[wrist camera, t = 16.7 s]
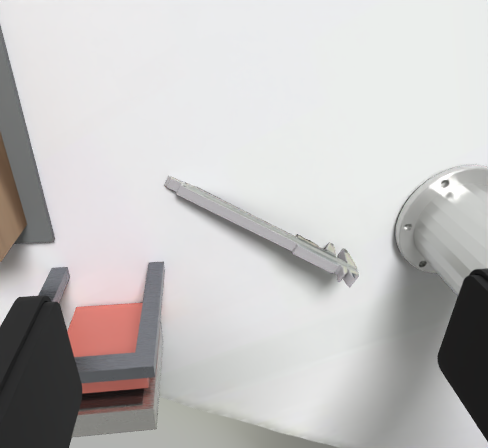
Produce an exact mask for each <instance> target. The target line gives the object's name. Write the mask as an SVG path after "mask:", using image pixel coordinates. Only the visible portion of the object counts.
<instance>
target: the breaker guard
mask: <svg viewBox="0 0 488 448" xmlns="http://www.w3.org/2000/svg"><path fill="white" fill-rule="evenodd" d="M164 273H165V270H164V262H152V263H149V265H148V271H147V278H146V285H145V291H144V298H143V305H142V311H141V318H140V324H139V331H138V338H137V344H136V351H135V352H134V353H122V354H109V355H96V356H83V357H74V358H75V362H76V365H77V369H78V372H79V376H80V380H81V383H94V382H106V381H118V380H129V379H141V378H149V387H148V388H141V389H129V390H118V391H106V392H95V393H83V394H82V400H81V404H80V408H79V412H78V416H77V419H76V423H75V427H74V430H73V434H72V437H81V436H91V435H100V434H111V433H121V432H132V431H142V430H153V429H157V415H158V402H159V389H160V376H161V363H162V350H163V336H162V327H161V322H160V318H161V307H162V296H163V284H164ZM69 278H70V275H69V271H68V267H62V268H52V269H51V271H50V273H49V275H48V277H47V279H46V281H45V283H44V285H43V287H42V289H41V291H40V293H39V295H38V296H45V295H46V296H49V298H50V299H51V302H58V303H59V302H60V299H61V297H62V295H63V292H64V290H65V287H66V285H67V283H68V280H69Z"/></svg>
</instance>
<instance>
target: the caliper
mask: <svg viewBox="0 0 488 448" xmlns="http://www.w3.org/2000/svg"><path fill="white" fill-rule="evenodd" d="M164 185H165V186H166V187H167V188H169V189H171V190H173V191H175V192H177V193H176V195H178V196H180V197H182V198H185V199H187V200H189V201H191V202H193V203H195V204H197V205H199V206H201V207H203V208H205V209H207V210H209V211H211V212H213V213H215V214H217V215H219V216H221V217H223V218H225V219H227V220H229V221H231V222H233V223H235V224H237V225H239V226H241V227H243V228H245V229H247V230H249V231H251V232H253V233H255V234H257V235H259V236H261V237H263V238H265V239H267V240H270V241H272V242H274V243H276V244H278V245H280V246H282V247H284V248H286V249H288V250H290V251H292V253H293V254H294V255H296V256H298V257H300V258H302V259H304V260H306V261H308V262H310V263H312V264H314V265H316V266H318V267H320V268H322V269H324V270H326V271H328V272H330V273H332V274H333V272H334V273H335V274H336V275H337V280H338V282H340V281H341V280H342V279H343V280H344V281H345V283H346V284H347V285H348V286H349V287H351V285H352V284H353V283H354V282H355V280H356V279H357V278H358V277H359V274H358V270H357V266H356V265H355V263H354V261H353V259H352V258H351V256H350V254H349V253H348V251H346V250H345V249H344V248H343V249H342V250H341V252H340V253H339V254H338V257H339V258H337V257H336V252H335V248H334V246H333V244H332V243H330V242H329V243H328V245H327V246H326V248H325V249H322V248H320V247H319V246H318V245H316V244H315V243H313V242H312V241H310V240H307V239H305V238H303V237H302V236H300V235H298V234H297V235H296V236H293V235H291V234H289V233H287V232H285V231H283V230H281V229H279V228H277V227H275V226H273V225H271V224H269V223H267V222H265V221H263V220H261V219H259V218H257V217H255V216H253V215H251V214H249V213H247V212H245V211H243V210H241V209H239V208H237V207H235V206H233V205H231V204H229V203H227V202H225V201H223V200H221V199H220V198H218V197H216V196H214V195H212V194H210V193H208V192H206V191H204V190H202V189H200V188H198V187H195V186H193V185H190V184H188V183H186V182H183V181H182V182H181V181H179V180H177V179H175V178H173V177H171V176H168V178H167V180H166V182H165V184H164Z"/></svg>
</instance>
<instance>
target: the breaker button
mask: <svg viewBox="0 0 488 448" xmlns="http://www.w3.org/2000/svg"><path fill="white" fill-rule="evenodd" d="M142 305H143V303H132V304H116V305H101V306H86V307H76V309H75V312H74V315H73V318H72V321H71V323H70V326H69V329H68V332H67V333H68V336H69V340H70V343H71V347H72V351H73V354H74V357H83V356H96V355H109V354H122V353H134V352H135V351H136V344H137V338H138V331H139V324H140V318H141V311H142ZM148 387H149V378H141V379H129V380H118V381H106V382H94V383H82V394H83V393H95V392H106V391H118V390H129V389H141V388H148Z"/></svg>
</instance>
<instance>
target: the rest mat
mask: <svg viewBox="0 0 488 448" xmlns="http://www.w3.org/2000/svg"><path fill="white" fill-rule="evenodd" d="M0 132H1V135H2V139H3V142H4V146H5V149H6V153H7V156H8V159H9V163H10V166H11V170H12V173H13V177H14V180H15V183H16V187H17V190H18V194H19V197H20V201H21V204H22V208H23V211H24V214H25V218H26V221H27V225H26V227H25V228H24V230H23V231H22V232H21V234H20V235H19V237H18V238H17V240H16V241H15V243H14V244H20V243H41V242H53V241H54V239H55V237H54V233H53V229H52V225H51V221H50V217H49V213H48V209H47V206H46V202H45V198H44V194H43V190H42V186H41V182H40V178H39V174H38V170H37V167H36V163H35V159H34V155H33V151H32V147H31V143H30V139H29V135H28V131H27V127H26V124H25V120H24V116H23V112H22V108H21V104H20V100H19V96H18V92H17V88H16V85H15V81H14V77H13V73H12V69H11V65H10V61H9V57H8V53H7V49H6V45H5V42H4V38H3V34H2V30H1V26H0Z"/></svg>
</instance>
